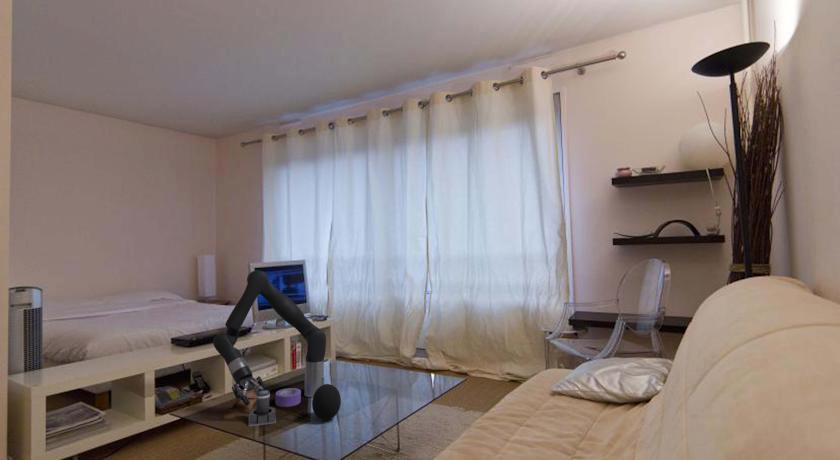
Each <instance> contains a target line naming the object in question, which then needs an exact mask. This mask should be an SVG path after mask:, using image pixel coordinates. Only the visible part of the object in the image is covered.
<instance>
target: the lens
mask: <svg viewBox="0 0 840 460" xmlns="http://www.w3.org/2000/svg"><path fill="white" fill-rule="evenodd" d="M256 393H257V396H256V398H257V401H256V404H255V408H256V414H257V415H263V414H268V413H269V407H270V396H271V392H270V391H269V390H267V389H266V390H265V389H263V391H259V392H257V391H256Z"/></svg>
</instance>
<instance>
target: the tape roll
mask: <svg viewBox="0 0 840 460" xmlns="http://www.w3.org/2000/svg"><path fill="white" fill-rule="evenodd" d="M301 395H302V390H301V389H299V388H296V387H288V388H282V389H279V390H277V391H276V392H275V398H274V399H275V403H274V404H275V405H276V406H277V407H285V408H288V407H289V408H290V407H294V406H298V405H299V404H300V403H301V400H302V399H301V397H302V396H301Z"/></svg>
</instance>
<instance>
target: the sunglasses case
mask: <svg viewBox="0 0 840 460" xmlns="http://www.w3.org/2000/svg"><path fill="white" fill-rule="evenodd" d="M246 395H247V397H248V399H249V401H250V404H249V405H247V406H246V405H245V404H244V402H243V401H242V399H241V398H238V400H236V401H235V403H234V404H233V409H234V410H253V409H254V406H256V401H257V398H256V396H257V392H256V391H254V390H253V391H252V390H249V391H247V392H246ZM246 395H245V396H246Z"/></svg>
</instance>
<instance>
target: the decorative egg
mask: <svg viewBox="0 0 840 460" xmlns="http://www.w3.org/2000/svg"><path fill="white" fill-rule="evenodd" d="M341 403H342V398H341V393H340V391H339V390H338V389H337V387H336V386H335V385H333V384H331V383H324V385H322V386H320V387H319V388H318V389H317V390H316V391H315V393H314V396H313V397H312V399H311V408H312V412H313V413H314V415H315V417H317V418H318V419H319V420H321V421H330V420H332V419H334V418H335V417H336V416H337V415H338V413H339V411H340V408H341Z"/></svg>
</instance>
